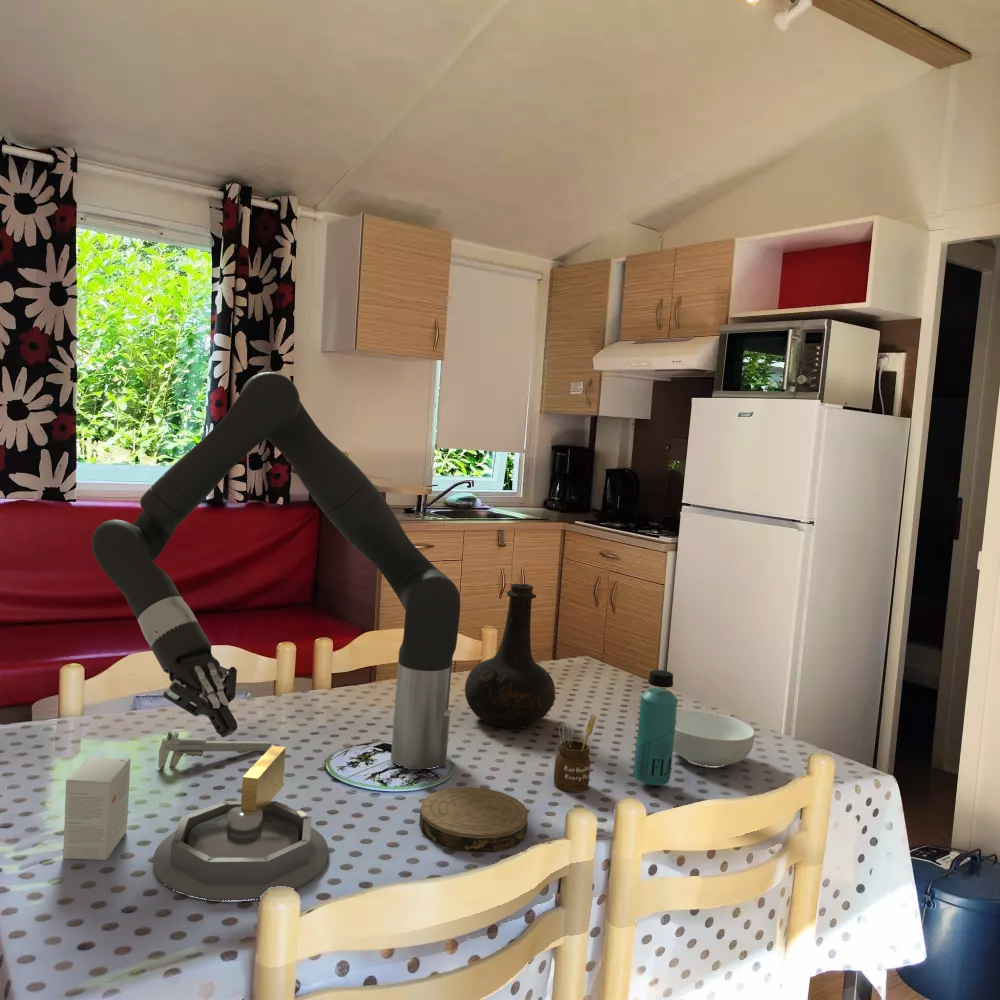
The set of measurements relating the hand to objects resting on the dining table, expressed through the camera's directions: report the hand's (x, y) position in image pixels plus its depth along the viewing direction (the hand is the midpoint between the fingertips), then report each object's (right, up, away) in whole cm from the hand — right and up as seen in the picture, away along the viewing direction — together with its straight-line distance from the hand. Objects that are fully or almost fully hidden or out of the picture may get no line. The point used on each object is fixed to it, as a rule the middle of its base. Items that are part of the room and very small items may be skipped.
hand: (230, 733), depth 129 cm
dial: (+5, -12, -9) cm, 16 cm away
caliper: (-8, -10, +20) cm, 24 cm away
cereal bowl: (+77, -15, +38) cm, 87 cm away
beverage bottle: (+65, -15, +24) cm, 70 cm away
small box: (-14, -12, -12) cm, 22 cm away
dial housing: (+5, -13, -12) cm, 18 cm away
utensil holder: (+51, -14, +21) cm, 57 cm away
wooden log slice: (+35, -15, +3) cm, 38 cm away
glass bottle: (+40, -11, +50) cm, 65 cm away
